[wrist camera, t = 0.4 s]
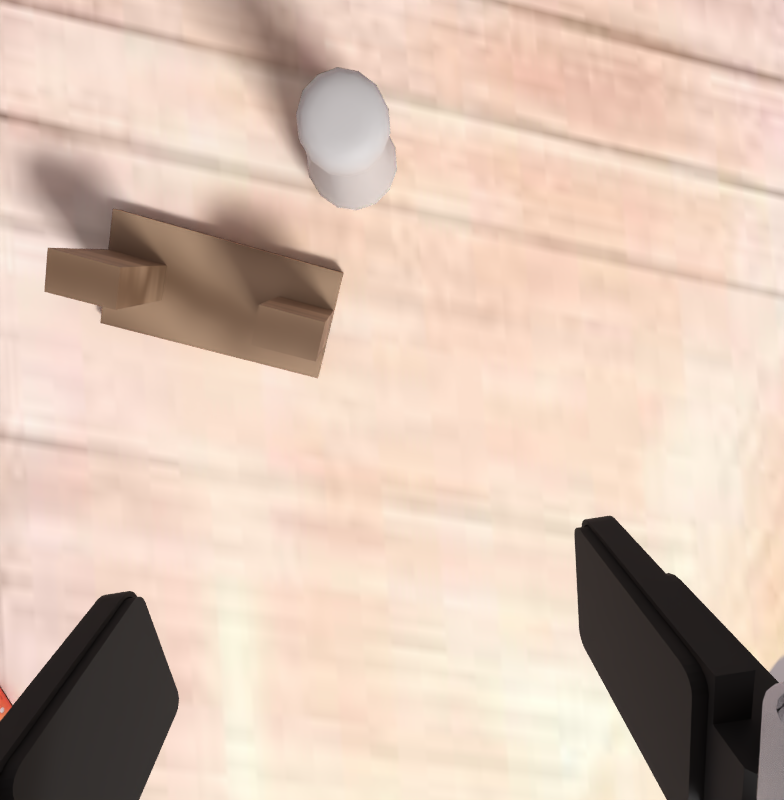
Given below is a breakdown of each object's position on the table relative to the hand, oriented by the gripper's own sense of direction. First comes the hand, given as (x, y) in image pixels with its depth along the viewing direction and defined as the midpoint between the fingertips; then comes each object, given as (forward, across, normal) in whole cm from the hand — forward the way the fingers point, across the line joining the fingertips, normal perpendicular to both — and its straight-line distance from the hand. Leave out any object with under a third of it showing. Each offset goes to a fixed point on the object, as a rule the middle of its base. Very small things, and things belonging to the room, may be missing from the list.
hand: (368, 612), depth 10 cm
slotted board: (+28, +10, -6) cm, 30 cm away
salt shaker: (+28, -1, -13) cm, 31 cm away
